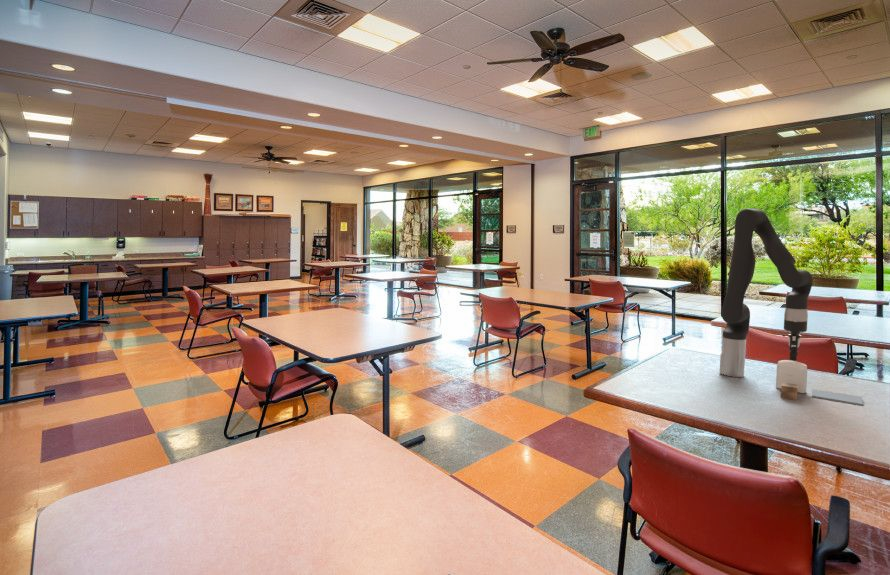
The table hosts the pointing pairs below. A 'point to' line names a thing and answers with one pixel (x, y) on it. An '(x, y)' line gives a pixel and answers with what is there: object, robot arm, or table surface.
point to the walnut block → (789, 391)
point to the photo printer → (792, 374)
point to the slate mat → (837, 397)
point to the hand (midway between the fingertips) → (793, 358)
